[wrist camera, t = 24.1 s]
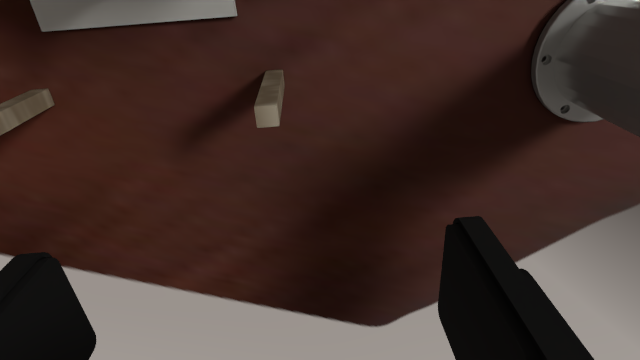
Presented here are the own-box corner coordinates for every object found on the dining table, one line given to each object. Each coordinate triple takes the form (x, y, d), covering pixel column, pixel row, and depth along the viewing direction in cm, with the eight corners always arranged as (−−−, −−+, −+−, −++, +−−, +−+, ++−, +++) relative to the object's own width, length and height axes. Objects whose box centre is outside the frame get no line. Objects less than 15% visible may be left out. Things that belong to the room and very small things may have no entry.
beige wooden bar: (282, 69, 35) (276, 104, 26) (284, 86, 36) (279, 126, 27) (31, 89, 35) (-62, 132, 26) (38, 106, 36) (-50, 153, 27)
